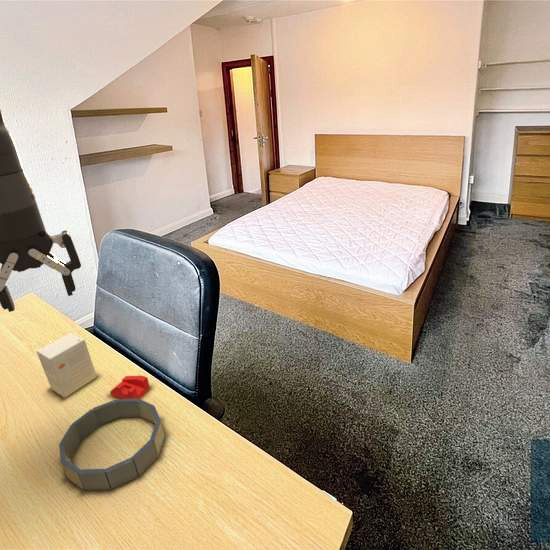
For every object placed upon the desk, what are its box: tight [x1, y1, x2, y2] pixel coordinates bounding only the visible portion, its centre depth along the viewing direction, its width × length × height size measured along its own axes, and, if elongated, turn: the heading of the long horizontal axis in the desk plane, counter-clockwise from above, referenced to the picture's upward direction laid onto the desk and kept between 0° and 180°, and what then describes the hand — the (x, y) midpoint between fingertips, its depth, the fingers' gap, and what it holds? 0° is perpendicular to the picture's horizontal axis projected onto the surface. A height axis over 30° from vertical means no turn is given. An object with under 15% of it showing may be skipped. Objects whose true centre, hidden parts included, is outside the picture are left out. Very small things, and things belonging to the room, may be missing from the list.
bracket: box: [109, 375, 151, 399], centre depth 87 cm, size 6×5×3 cm
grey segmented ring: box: [58, 398, 165, 491], centre depth 73 cm, size 17×17×4 cm
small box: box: [36, 332, 97, 399], centre depth 89 cm, size 8×6×10 cm
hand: (41, 301), depth 66 cm, fingers open, 8 cm apart
